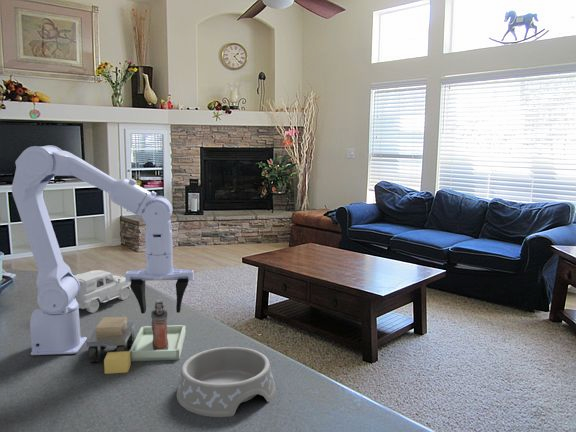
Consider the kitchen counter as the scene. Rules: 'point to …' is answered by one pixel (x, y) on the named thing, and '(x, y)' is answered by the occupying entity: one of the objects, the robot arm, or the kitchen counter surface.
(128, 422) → the kitchen counter surface
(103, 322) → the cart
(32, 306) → the kitchen counter surface
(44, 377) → the kitchen counter surface
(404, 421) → the kitchen counter surface
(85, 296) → the toy car
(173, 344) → the tray
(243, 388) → the dog bowl
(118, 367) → the block
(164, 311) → the lighter
